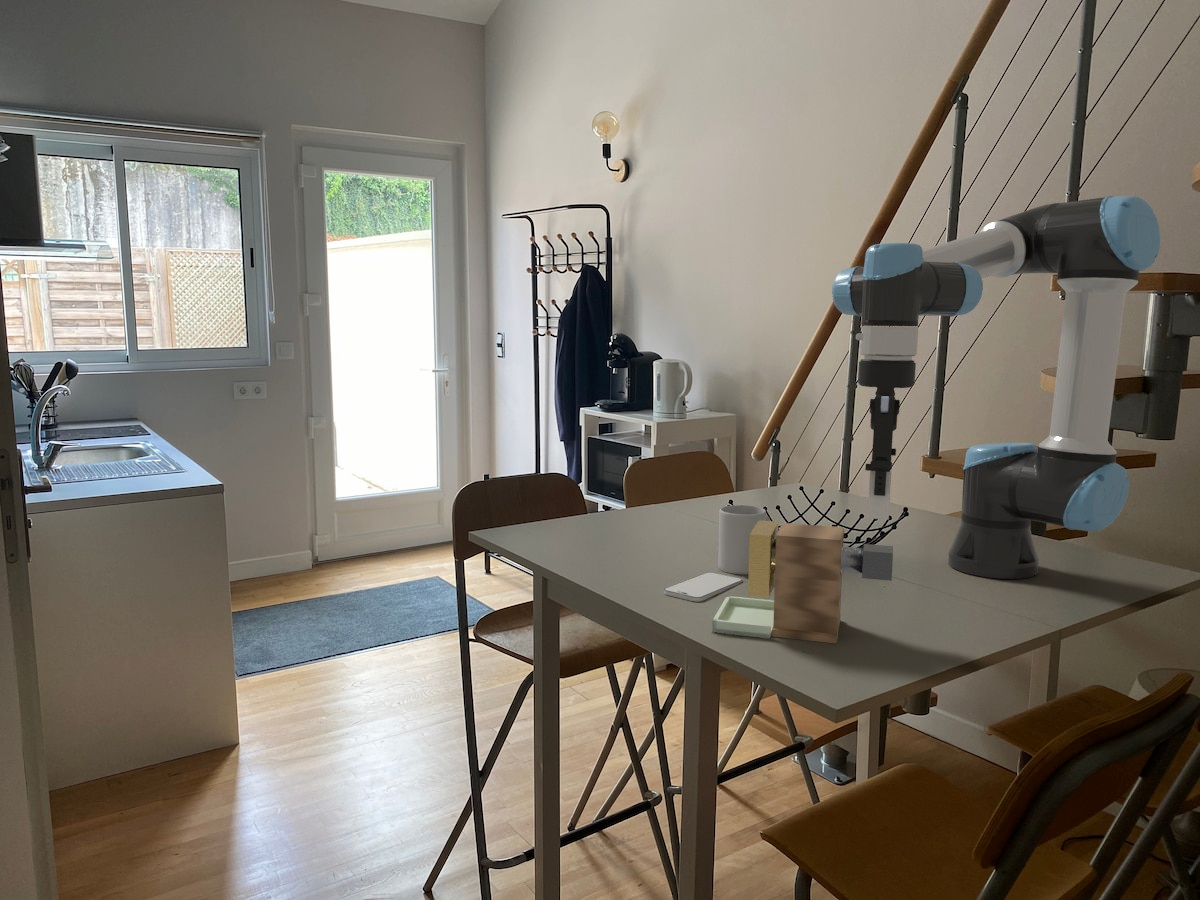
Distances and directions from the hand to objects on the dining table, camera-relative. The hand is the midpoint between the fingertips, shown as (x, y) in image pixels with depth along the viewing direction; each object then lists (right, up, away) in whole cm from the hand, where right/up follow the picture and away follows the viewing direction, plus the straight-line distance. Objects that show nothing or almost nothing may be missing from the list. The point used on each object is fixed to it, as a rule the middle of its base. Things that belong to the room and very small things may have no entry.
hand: (878, 508), depth 125 cm
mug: (-12, -13, +38) cm, 42 cm away
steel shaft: (-7, -9, +4) cm, 13 cm away
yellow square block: (-15, -12, +7) cm, 21 cm away
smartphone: (-22, -16, +26) cm, 37 cm away
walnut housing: (-9, -18, +6) cm, 21 cm away
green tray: (-17, -18, +9) cm, 26 cm away
